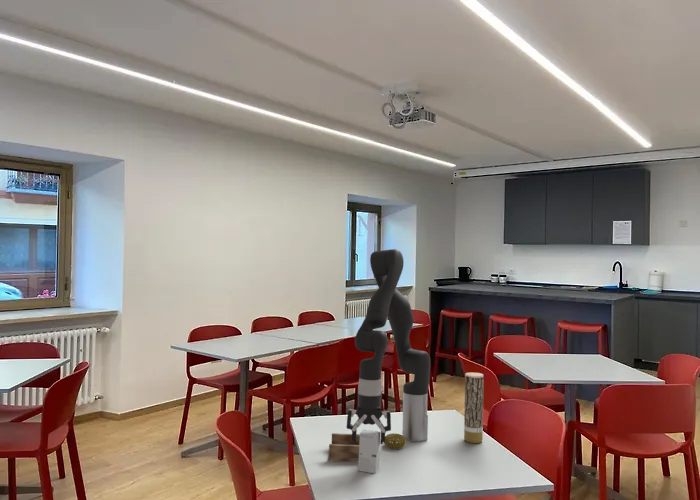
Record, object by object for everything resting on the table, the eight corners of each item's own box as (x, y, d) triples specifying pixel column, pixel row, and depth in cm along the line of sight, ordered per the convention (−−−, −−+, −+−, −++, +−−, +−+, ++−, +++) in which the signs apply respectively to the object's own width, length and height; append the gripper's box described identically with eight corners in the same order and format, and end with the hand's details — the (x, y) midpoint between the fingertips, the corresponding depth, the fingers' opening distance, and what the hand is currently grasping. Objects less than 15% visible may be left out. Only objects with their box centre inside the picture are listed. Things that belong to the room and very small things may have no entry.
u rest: (368, 449, 187) (368, 434, 187) (367, 462, 175) (368, 446, 175) (331, 447, 187) (332, 433, 187) (328, 460, 175) (329, 445, 175)
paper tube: (462, 442, 196) (463, 375, 196) (465, 436, 202) (466, 371, 203) (481, 445, 193) (482, 377, 194) (483, 439, 200) (484, 373, 200)
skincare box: (357, 471, 167) (358, 433, 168) (361, 465, 172) (362, 428, 172) (376, 473, 166) (377, 435, 166) (379, 468, 170) (380, 431, 170)
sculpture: (410, 435, 190) (396, 441, 185) (410, 446, 190) (396, 452, 185) (392, 430, 196) (379, 435, 190) (392, 441, 196) (379, 446, 190)
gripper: (391, 390, 172) (390, 440, 172) (348, 388, 173) (346, 437, 173) (392, 396, 165) (390, 448, 165) (347, 394, 166) (345, 445, 165)
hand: (368, 442), depth 169 cm, fingers open, 8 cm apart
